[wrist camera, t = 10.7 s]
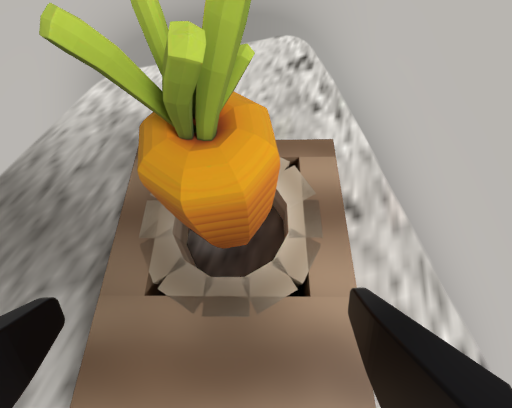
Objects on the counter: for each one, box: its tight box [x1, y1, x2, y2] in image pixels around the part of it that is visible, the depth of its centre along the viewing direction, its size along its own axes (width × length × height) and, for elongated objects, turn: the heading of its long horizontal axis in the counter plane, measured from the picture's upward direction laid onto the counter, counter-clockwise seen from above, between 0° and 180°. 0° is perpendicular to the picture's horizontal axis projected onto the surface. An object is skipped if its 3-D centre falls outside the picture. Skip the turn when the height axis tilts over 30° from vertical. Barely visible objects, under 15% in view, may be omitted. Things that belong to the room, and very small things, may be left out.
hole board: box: [70, 139, 376, 408], centre depth 15 cm, size 18×14×3 cm
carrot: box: [39, 0, 280, 249], centre depth 11 cm, size 5×5×15 cm
